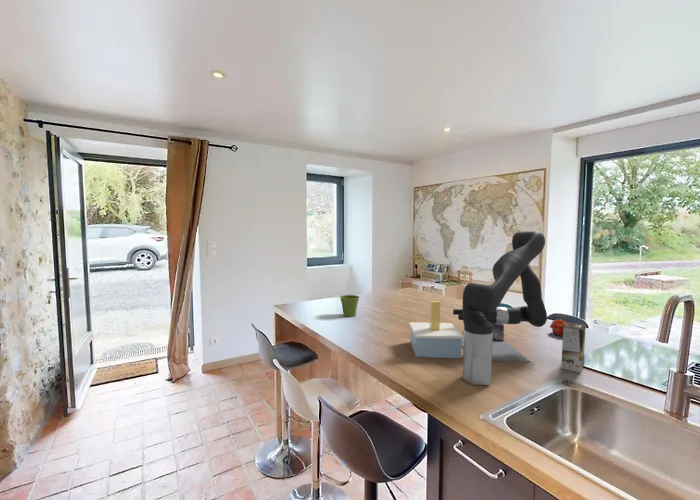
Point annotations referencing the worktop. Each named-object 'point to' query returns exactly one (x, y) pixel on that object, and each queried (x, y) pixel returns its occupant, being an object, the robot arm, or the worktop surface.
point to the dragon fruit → (558, 326)
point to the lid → (435, 326)
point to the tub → (436, 347)
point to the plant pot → (349, 304)
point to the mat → (505, 352)
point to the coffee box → (573, 347)
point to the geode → (498, 332)
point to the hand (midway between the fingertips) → (455, 314)
